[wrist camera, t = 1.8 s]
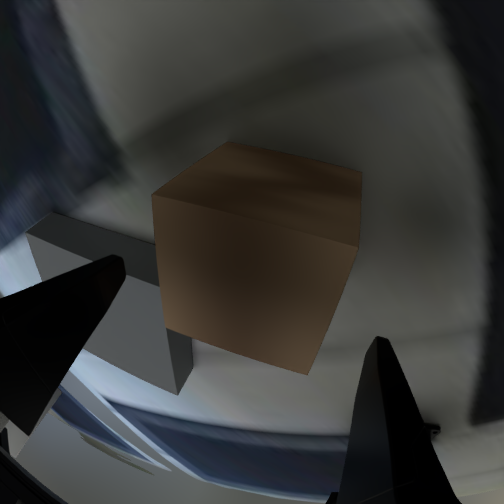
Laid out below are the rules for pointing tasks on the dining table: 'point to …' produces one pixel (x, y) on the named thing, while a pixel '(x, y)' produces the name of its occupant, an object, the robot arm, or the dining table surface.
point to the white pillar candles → (19, 437)
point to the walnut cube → (256, 251)
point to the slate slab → (118, 300)
